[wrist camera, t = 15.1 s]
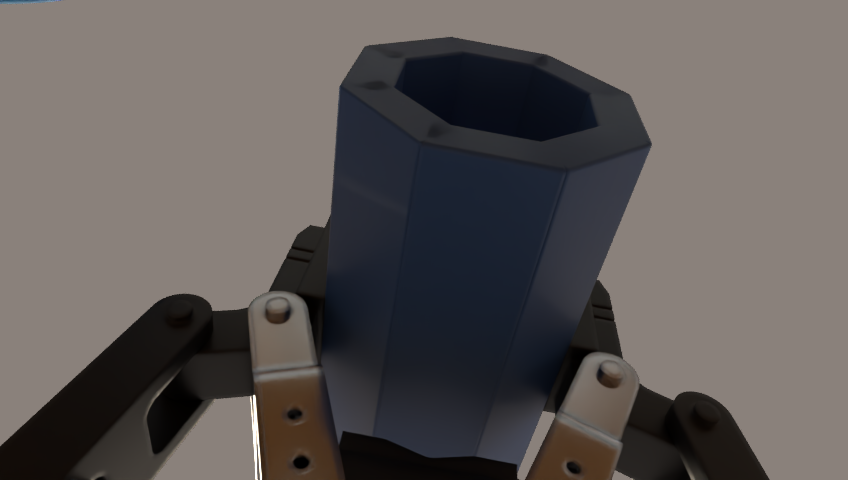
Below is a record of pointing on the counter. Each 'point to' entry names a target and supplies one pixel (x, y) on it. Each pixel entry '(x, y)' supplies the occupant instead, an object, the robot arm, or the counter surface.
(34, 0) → the beverage bottle
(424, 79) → the sleeve
